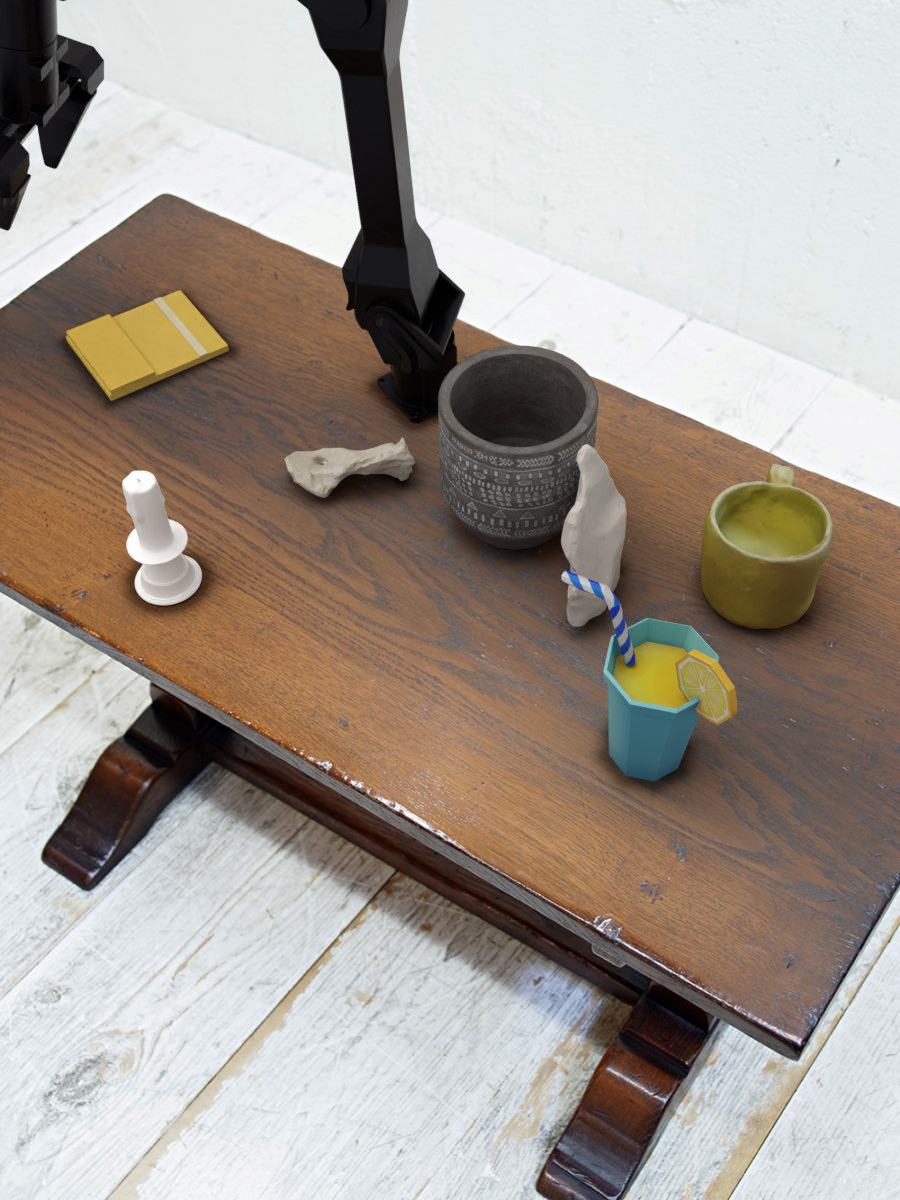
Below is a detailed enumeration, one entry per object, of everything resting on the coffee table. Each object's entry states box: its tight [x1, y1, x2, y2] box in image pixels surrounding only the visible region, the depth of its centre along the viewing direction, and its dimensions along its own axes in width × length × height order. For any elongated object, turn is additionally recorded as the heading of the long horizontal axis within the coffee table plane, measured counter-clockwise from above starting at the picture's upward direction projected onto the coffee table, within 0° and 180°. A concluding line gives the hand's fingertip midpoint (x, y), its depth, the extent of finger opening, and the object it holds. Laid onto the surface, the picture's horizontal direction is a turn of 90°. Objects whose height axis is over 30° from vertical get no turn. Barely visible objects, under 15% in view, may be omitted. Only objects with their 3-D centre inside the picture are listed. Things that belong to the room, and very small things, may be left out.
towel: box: [65, 289, 230, 402], centre depth 120 cm, size 10×12×1 cm
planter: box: [437, 344, 599, 550], centre depth 102 cm, size 12×12×13 cm
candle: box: [121, 470, 203, 606], centre depth 98 cm, size 5×5×12 cm
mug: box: [700, 463, 834, 630], centre depth 99 cm, size 12×10×10 cm
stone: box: [560, 444, 628, 628], centre depth 96 cm, size 11×4×15 cm, turn 167°
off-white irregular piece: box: [283, 436, 416, 499], centre depth 108 cm, size 6×10×4 cm, turn 104°
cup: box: [560, 570, 739, 782], centre depth 87 cm, size 14×8×15 cm, turn 53°
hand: (27, 196), depth 110 cm, fingers open, 9 cm apart
